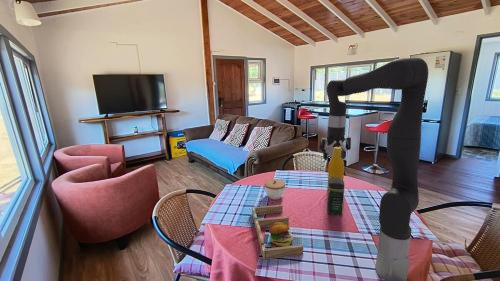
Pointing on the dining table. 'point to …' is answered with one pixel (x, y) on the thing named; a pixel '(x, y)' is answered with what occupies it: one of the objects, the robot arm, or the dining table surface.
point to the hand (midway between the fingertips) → (334, 159)
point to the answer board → (262, 223)
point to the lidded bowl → (275, 188)
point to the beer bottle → (336, 165)
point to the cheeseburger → (280, 235)
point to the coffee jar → (335, 196)
